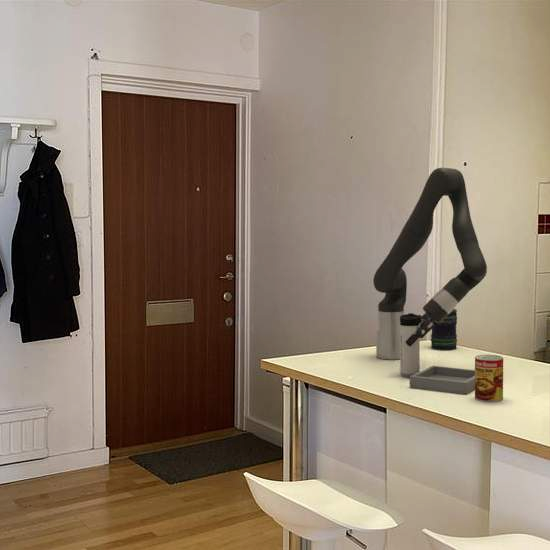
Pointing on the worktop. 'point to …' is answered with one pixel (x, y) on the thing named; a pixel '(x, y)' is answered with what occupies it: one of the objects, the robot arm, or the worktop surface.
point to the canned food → (489, 378)
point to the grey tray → (444, 380)
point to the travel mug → (409, 353)
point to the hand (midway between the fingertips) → (405, 342)
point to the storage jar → (445, 333)
